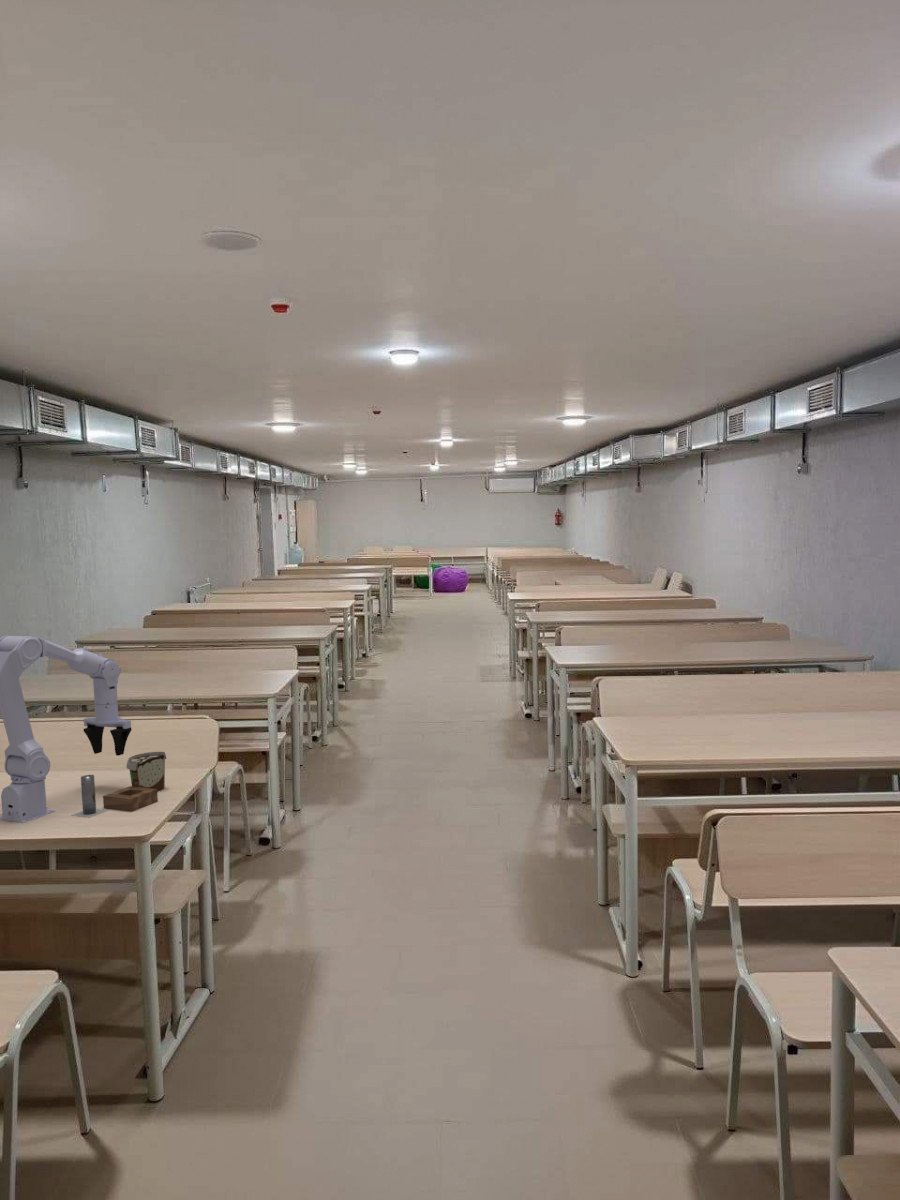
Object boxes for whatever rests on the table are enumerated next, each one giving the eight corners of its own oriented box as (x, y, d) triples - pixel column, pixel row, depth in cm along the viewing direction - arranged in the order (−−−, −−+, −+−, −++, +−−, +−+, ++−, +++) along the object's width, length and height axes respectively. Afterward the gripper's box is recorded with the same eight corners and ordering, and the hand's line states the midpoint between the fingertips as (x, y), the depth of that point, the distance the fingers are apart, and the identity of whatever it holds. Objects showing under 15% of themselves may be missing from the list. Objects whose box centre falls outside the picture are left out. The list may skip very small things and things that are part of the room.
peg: (89, 815, 213) (87, 778, 213) (80, 814, 214) (77, 777, 214) (99, 811, 216) (96, 775, 215) (89, 810, 217) (87, 774, 217)
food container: (149, 786, 239) (147, 750, 238) (168, 788, 237) (166, 751, 236) (117, 799, 227) (115, 761, 227) (137, 801, 225) (135, 762, 225)
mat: (89, 819, 211) (89, 817, 211) (70, 816, 214) (70, 815, 214) (108, 811, 217) (108, 810, 217) (90, 809, 219) (89, 808, 219)
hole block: (131, 813, 215) (131, 799, 215) (103, 809, 219) (102, 795, 219) (157, 802, 223) (157, 789, 223) (130, 799, 227) (129, 786, 227)
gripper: (138, 701, 235) (140, 752, 236) (96, 699, 241) (99, 748, 242) (118, 706, 229) (121, 758, 230) (76, 703, 234) (79, 754, 235)
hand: (108, 753), depth 235 cm, fingers open, 7 cm apart
